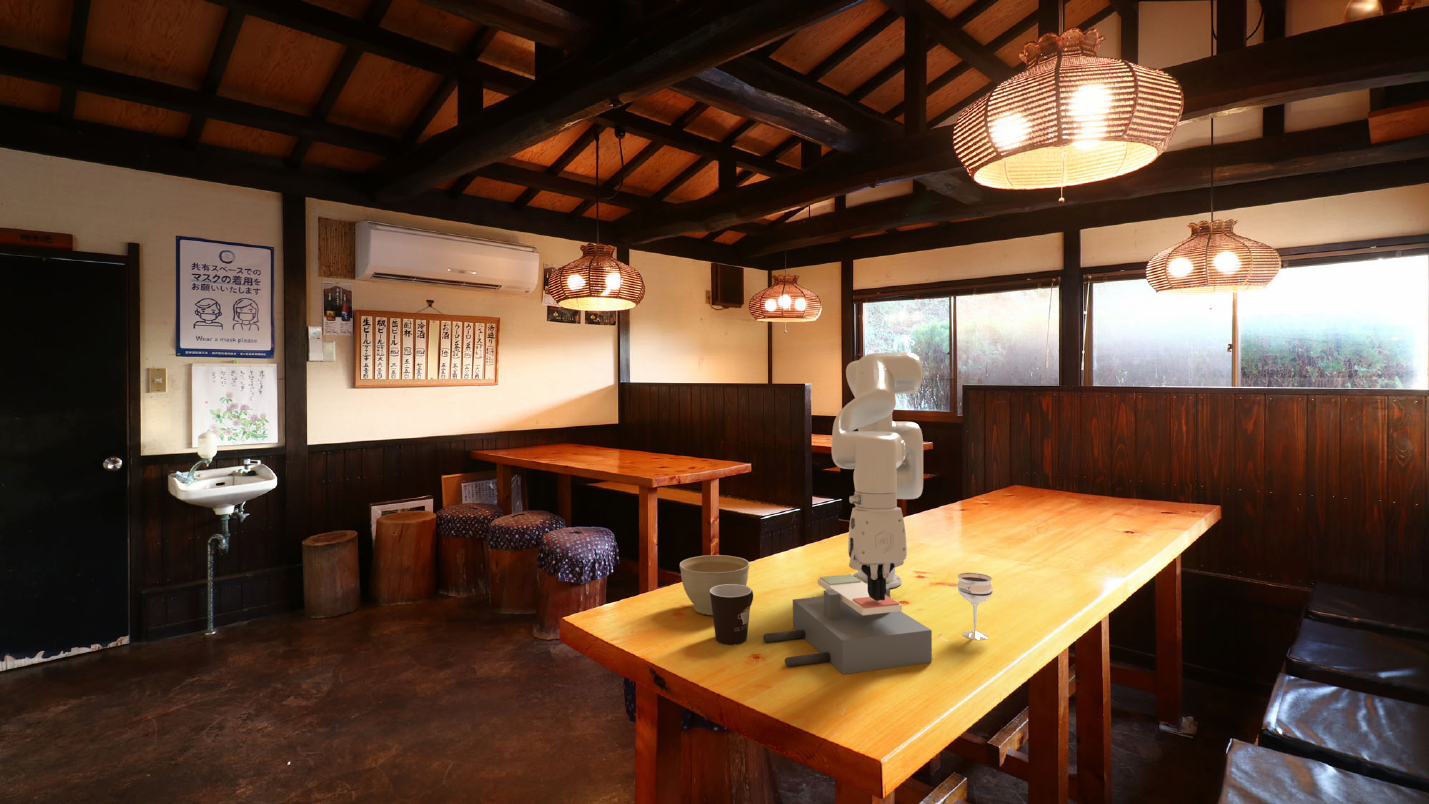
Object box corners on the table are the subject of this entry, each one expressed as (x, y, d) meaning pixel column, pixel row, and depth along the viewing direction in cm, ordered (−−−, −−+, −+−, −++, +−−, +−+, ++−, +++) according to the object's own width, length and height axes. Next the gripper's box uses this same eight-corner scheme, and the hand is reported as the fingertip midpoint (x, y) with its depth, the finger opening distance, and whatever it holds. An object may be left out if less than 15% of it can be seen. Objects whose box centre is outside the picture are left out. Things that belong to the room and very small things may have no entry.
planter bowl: (764, 610, 151) (763, 563, 151) (709, 627, 141) (708, 577, 140) (720, 594, 163) (719, 550, 163) (666, 608, 153) (666, 562, 153)
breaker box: (754, 631, 138) (753, 580, 137) (869, 618, 144) (868, 570, 144) (797, 680, 114) (796, 619, 114) (931, 662, 121) (931, 604, 121)
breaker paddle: (817, 585, 139) (817, 577, 139) (853, 581, 141) (853, 574, 141) (861, 616, 120) (861, 607, 120) (902, 611, 122) (902, 602, 122)
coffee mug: (722, 650, 128) (722, 599, 128) (703, 635, 136) (702, 588, 136) (772, 639, 133) (772, 590, 133) (751, 625, 141) (750, 579, 141)
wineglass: (959, 627, 139) (959, 571, 138) (994, 632, 136) (994, 574, 135) (955, 638, 133) (955, 579, 132) (991, 643, 129) (991, 583, 129)
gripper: (848, 506, 117) (849, 608, 117) (922, 501, 120) (923, 600, 121) (830, 499, 124) (831, 596, 124) (900, 495, 128) (901, 589, 128)
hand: (876, 598), depth 122 cm, fingers closed
